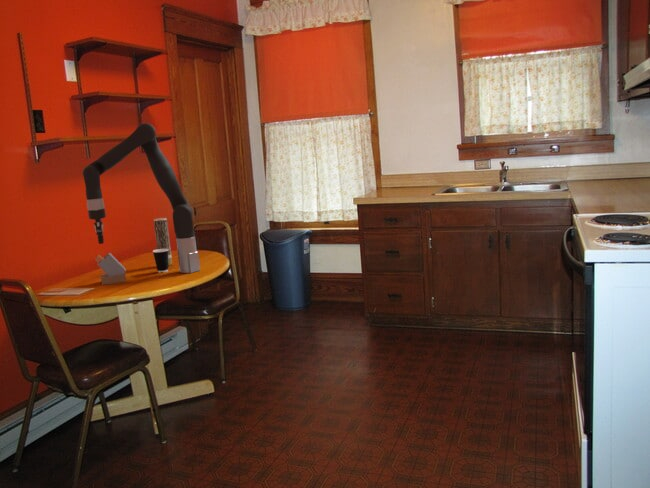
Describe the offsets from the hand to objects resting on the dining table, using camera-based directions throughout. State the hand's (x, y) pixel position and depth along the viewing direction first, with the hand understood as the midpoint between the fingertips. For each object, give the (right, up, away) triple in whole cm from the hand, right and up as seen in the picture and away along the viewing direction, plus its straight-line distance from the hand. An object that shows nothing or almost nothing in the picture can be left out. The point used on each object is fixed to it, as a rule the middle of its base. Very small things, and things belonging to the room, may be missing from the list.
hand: (101, 242), depth 293 cm
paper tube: (+22, -12, +35) cm, 43 cm away
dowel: (+7, -14, +5) cm, 16 cm away
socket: (+4, -19, +4) cm, 20 cm away
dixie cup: (+24, -15, +19) cm, 34 cm away
